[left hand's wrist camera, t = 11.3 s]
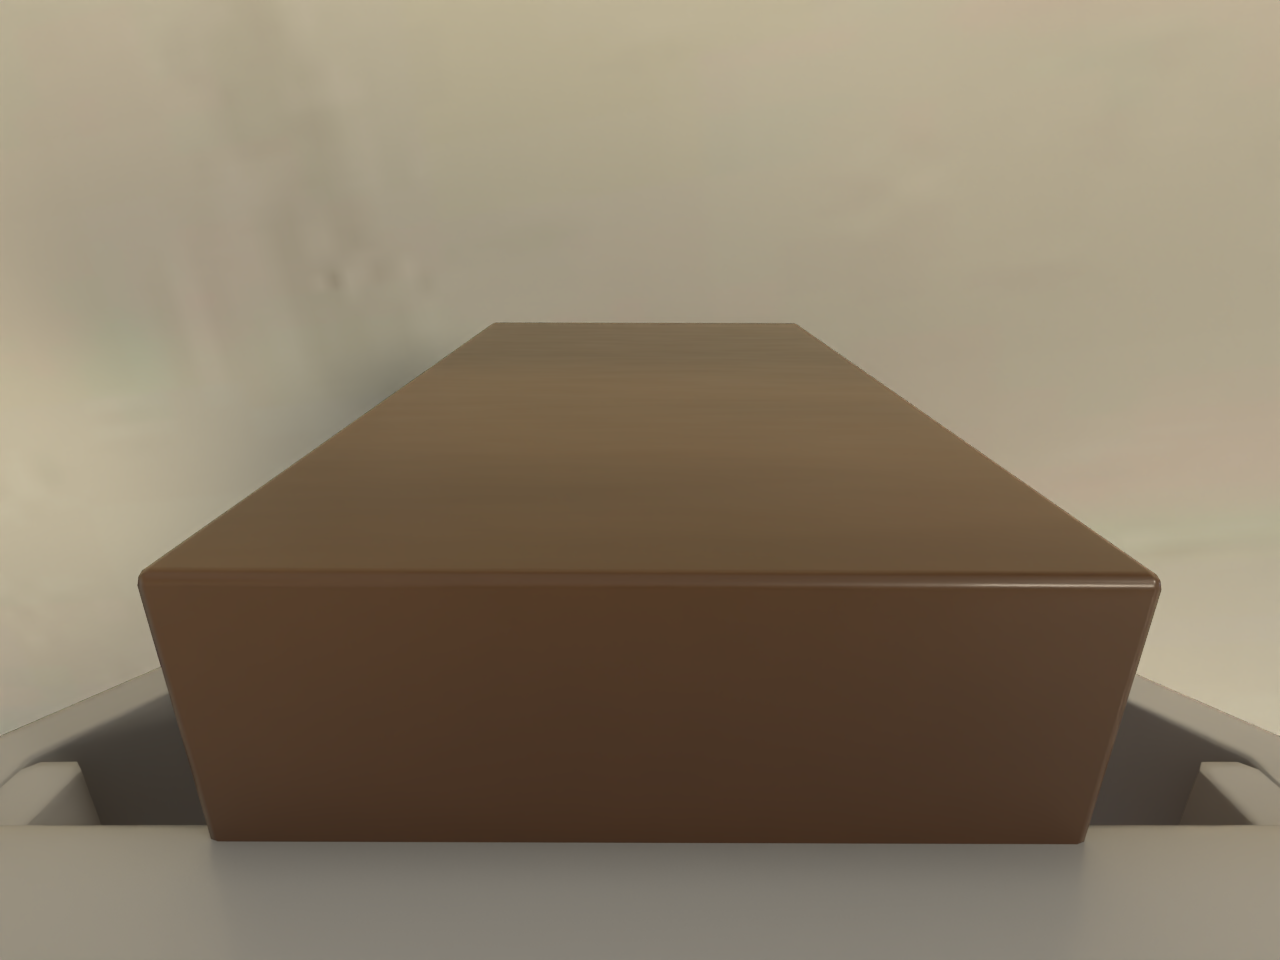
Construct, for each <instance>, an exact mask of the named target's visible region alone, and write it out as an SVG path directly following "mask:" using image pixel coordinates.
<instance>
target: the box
mask: <svg viewBox="0 0 1280 960" xmlns="http://www.w3.org/2000/svg"><path fill="white" fill-rule="evenodd" d="M137 586H138V589H139V592H140V596H141V599H142V603H143V606H144V610H145V613H146V617H147V620H148V623H149V627H150V630H151V634H152V637H153V641H154V644H155V648H156V651H157V654H158V658H159V661H160V665H161V668H162V672H163V675H164V679H165V682H166V686H167V689H168V692H169V696H170V699H171V703H172V706H173V710H174V713H175V717H176V720H177V723H178V727H179V730H180V734H181V737H182V741H183V744H184V748H185V751H186V754H187V758H188V761H189V765H190V768H191V772H192V775H193V779H194V782H195V786H196V789H197V792H198V796H199V799H200V803H201V806H202V810H203V813H204V817H205V820H206V823H207V827H208V830H209V834H210V837H211V839H213V840H215V841H226V842H525V843H824V844H1079V843H1082V842H1084V840H1085V837H1086V834H1087V830H1088V827H1089V824H1090V821H1091V817H1092V814H1093V811H1094V808H1095V804H1096V801H1097V798H1098V795H1099V791H1100V788H1101V785H1102V782H1103V778H1104V775H1105V772H1106V768H1107V765H1108V762H1109V759H1110V755H1111V752H1112V749H1113V746H1114V742H1115V739H1116V736H1117V733H1118V729H1119V726H1120V723H1121V720H1122V716H1123V713H1124V710H1125V707H1126V703H1127V700H1128V697H1129V693H1130V690H1131V687H1132V684H1133V680H1134V677H1135V674H1136V671H1137V667H1138V664H1139V661H1140V658H1141V654H1142V651H1143V648H1144V645H1145V641H1146V638H1147V635H1148V632H1149V628H1150V625H1151V622H1152V618H1153V615H1154V612H1155V609H1156V605H1157V602H1158V599H1159V596H1160V592H1161V583H1160V580H1159V578H1158V576H1157V575H1156V574H1155V573H1153V572H1152V571H1150V570H1149V569H1148V568H1146V567H1145V566H1143V565H1142V564H1140V563H1139V562H1137V561H1136V560H1135V559H1133V558H1132V557H1130V556H1129V555H1127V554H1126V553H1125V552H1123V551H1122V550H1120V549H1119V548H1117V547H1116V546H1114V545H1113V544H1112V543H1110V542H1109V541H1107V540H1106V539H1104V538H1103V537H1102V536H1100V535H1099V534H1097V533H1096V532H1094V531H1093V530H1091V529H1090V528H1089V527H1087V526H1086V525H1084V524H1083V523H1081V522H1080V521H1079V520H1077V519H1076V518H1074V517H1073V516H1071V515H1070V514H1068V513H1067V512H1066V511H1064V510H1063V509H1061V508H1060V507H1058V506H1057V505H1056V504H1054V503H1053V502H1051V501H1050V500H1048V499H1047V498H1046V497H1044V496H1043V495H1041V494H1040V493H1038V492H1037V491H1035V490H1034V489H1033V488H1031V487H1030V486H1028V485H1027V484H1025V483H1024V482H1023V481H1021V480H1020V479H1018V478H1017V477H1015V476H1014V475H1012V474H1011V473H1010V472H1008V471H1007V470H1005V469H1004V468H1002V467H1001V466H1000V465H998V464H997V463H995V462H994V461H992V460H991V459H989V458H988V457H987V456H985V455H984V454H982V453H981V452H979V451H978V450H977V449H975V448H974V447H972V446H971V445H969V444H968V443H966V442H965V441H964V440H962V439H961V438H959V437H958V436H956V435H955V434H954V433H952V432H951V431H949V430H948V429H946V428H945V427H943V426H942V425H941V424H939V423H938V422H936V421H935V420H933V419H932V418H931V417H929V416H928V415H926V414H925V413H923V412H922V411H920V410H919V409H918V408H916V407H915V406H913V405H912V404H910V403H909V402H908V401H906V400H905V399H903V398H902V397H900V396H899V395H897V394H896V393H895V392H893V391H892V390H890V389H889V388H887V387H886V386H885V385H883V384H882V383H880V382H879V381H877V380H876V379H875V378H873V377H872V376H870V375H869V374H867V373H866V372H864V371H863V370H862V369H860V368H859V367H857V366H856V365H854V364H853V363H852V362H850V361H849V360H847V359H846V358H844V357H843V356H841V355H840V354H839V353H837V352H836V351H834V350H833V349H831V348H830V347H829V346H827V345H826V344H824V343H823V342H821V341H820V340H818V339H817V338H816V337H814V336H813V335H811V334H810V333H808V332H807V331H806V330H804V329H803V328H801V327H800V326H798V325H797V324H794V323H494V324H492V325H490V326H489V327H487V328H486V329H485V330H483V331H482V332H480V333H479V334H478V335H476V336H475V337H473V338H472V339H470V340H469V341H468V342H466V343H465V344H463V345H462V346H460V347H459V348H458V349H456V350H455V351H453V352H452V353H451V354H449V355H448V356H446V357H445V358H443V359H442V360H441V361H439V362H438V363H436V364H435V365H433V366H432V367H431V368H429V369H428V370H426V371H425V372H424V373H422V374H421V375H419V376H418V377H416V378H415V379H414V380H412V381H411V382H409V383H408V384H406V385H405V386H404V387H402V388H401V389H399V390H398V391H397V392H395V393H394V394H392V395H391V396H389V397H388V398H387V399H385V400H384V401H382V402H381V403H380V404H378V405H377V406H375V407H374V408H372V409H371V410H370V411H368V412H367V413H365V414H364V415H362V416H361V417H360V418H358V419H357V420H355V421H354V422H353V423H351V424H350V425H348V426H347V427H345V428H344V429H343V430H341V431H340V432H338V433H337V434H335V435H334V436H333V437H331V438H330V439H328V440H327V441H326V442H324V443H323V444H321V445H320V446H318V447H317V448H316V449H314V450H313V451H311V452H310V453H308V454H307V455H306V456H304V457H303V458H301V459H300V460H299V461H297V462H296V463H294V464H293V465H291V466H290V467H289V468H287V469H286V470H284V471H283V472H282V473H280V474H279V475H277V476H276V477H274V478H273V479H272V480H270V481H269V482H267V483H266V484H264V485H263V486H262V487H260V488H259V489H257V490H256V491H255V492H253V493H252V494H250V495H249V496H247V497H246V498H245V499H243V500H242V501H240V502H239V503H237V504H236V505H235V506H233V507H232V508H230V509H229V510H228V511H226V512H225V513H223V514H222V515H220V516H219V517H218V518H216V519H215V520H213V521H212V522H210V523H209V524H208V525H206V526H205V527H203V528H202V529H201V530H199V531H198V532H196V533H195V534H193V535H192V536H191V537H189V538H188V539H186V540H185V541H184V542H182V543H181V544H179V545H178V546H176V547H175V548H174V549H172V550H171V551H169V552H168V553H166V554H165V555H164V556H162V557H161V558H159V559H158V560H157V561H155V562H154V563H152V564H151V565H149V566H148V567H147V568H145V569H144V570H142V572H141V573H140V575H139V577H138V585H137Z"/></svg>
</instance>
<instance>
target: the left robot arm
mask: <svg viewBox="0 0 1280 960" xmlns="http://www.w3.org/2000/svg"><path fill="white" fill-rule="evenodd" d="M0 960H1280V736H1278V735H1275V734H1273V733H1271V732H1269V731H1266V730H1264V729H1262V728H1259V727H1257V726H1255V725H1252V724H1250V723H1248V722H1245V721H1243V720H1241V719H1239V718H1236V717H1234V716H1232V715H1229V714H1227V713H1225V712H1222V711H1220V710H1218V709H1215V708H1213V707H1211V706H1209V705H1206V704H1204V703H1202V702H1199V701H1197V700H1195V699H1192V698H1190V697H1188V696H1185V695H1183V694H1181V693H1179V692H1176V691H1174V690H1172V689H1169V688H1167V687H1165V686H1162V685H1160V684H1158V683H1155V682H1153V681H1151V680H1149V679H1146V678H1144V677H1142V676H1139V675H1137V674H1135V677H1134V680H1133V684H1132V687H1131V690H1130V693H1129V697H1128V700H1127V703H1126V707H1125V710H1124V713H1123V716H1122V720H1121V723H1120V726H1119V729H1118V733H1117V736H1116V739H1115V742H1114V746H1113V749H1112V752H1111V755H1110V759H1109V762H1108V765H1107V768H1106V772H1105V775H1104V778H1103V782H1102V785H1101V788H1100V791H1099V795H1098V798H1097V801H1096V804H1095V808H1094V811H1093V814H1092V817H1091V821H1090V824H1089V827H1088V830H1087V834H1086V837H1085V840H1084V842H1082V843H1079V844H824V843H525V842H226V841H215V840H213V839H211V837H210V834H209V830H208V827H207V823H206V820H205V817H204V813H203V810H202V806H201V803H200V799H199V796H198V792H197V789H196V786H195V782H194V779H193V775H192V772H191V768H190V765H189V761H188V758H187V754H186V751H185V748H184V744H183V741H182V737H181V734H180V730H179V727H178V723H177V720H176V717H175V713H174V710H173V706H172V703H171V699H170V696H169V692H168V689H167V686H166V682H165V679H164V675H163V672H162V668H161V667H159V668H157V669H154V670H152V671H150V672H148V673H145V674H143V675H141V676H138V677H136V678H134V679H131V680H129V681H127V682H124V683H122V684H120V685H117V686H115V687H113V688H111V689H108V690H106V691H104V692H101V693H99V694H97V695H94V696H92V697H90V698H87V699H85V700H83V701H80V702H78V703H76V704H74V705H71V706H69V707H67V708H64V709H62V710H60V711H57V712H55V713H53V714H50V715H48V716H46V717H43V718H41V719H39V720H37V721H34V722H32V723H30V724H27V725H25V726H23V727H20V728H18V729H16V730H13V731H11V732H9V733H6V734H4V735H2V736H0Z"/></svg>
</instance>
